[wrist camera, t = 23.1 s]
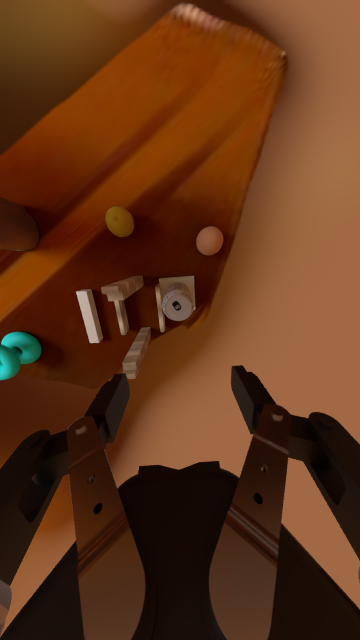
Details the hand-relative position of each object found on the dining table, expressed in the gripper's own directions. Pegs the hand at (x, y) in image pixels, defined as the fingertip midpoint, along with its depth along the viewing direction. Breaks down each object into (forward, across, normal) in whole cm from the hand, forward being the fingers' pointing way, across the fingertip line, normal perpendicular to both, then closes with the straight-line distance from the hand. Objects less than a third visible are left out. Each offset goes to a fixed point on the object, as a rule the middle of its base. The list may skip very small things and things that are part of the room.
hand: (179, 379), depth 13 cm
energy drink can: (+34, 0, 0) cm, 34 cm away
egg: (+34, -8, -12) cm, 37 cm away
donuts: (+34, +46, +12) cm, 59 cm away
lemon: (+34, +11, -17) cm, 40 cm away
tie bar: (+34, +24, +4) cm, 42 cm away
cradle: (+34, +10, +3) cm, 36 cm away
